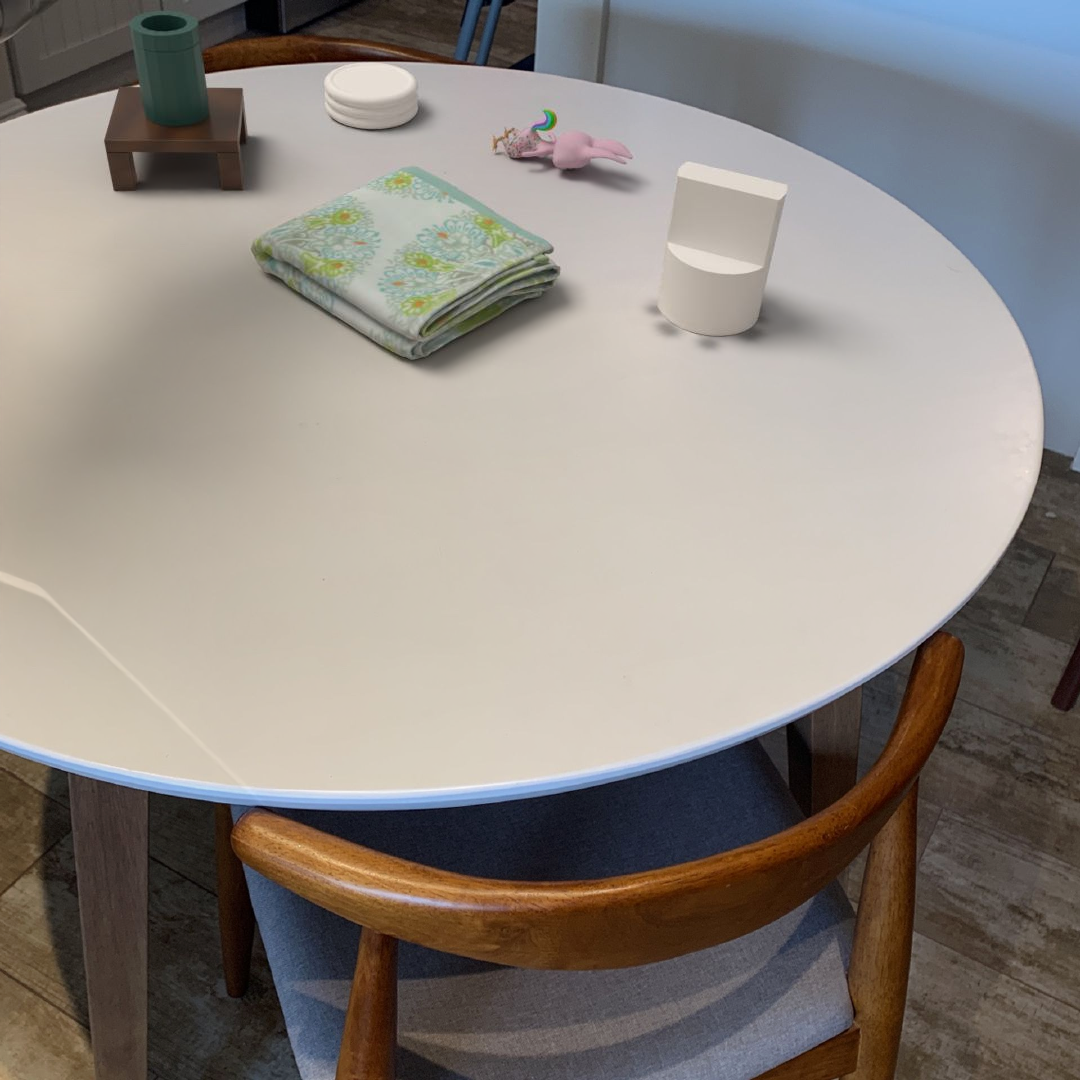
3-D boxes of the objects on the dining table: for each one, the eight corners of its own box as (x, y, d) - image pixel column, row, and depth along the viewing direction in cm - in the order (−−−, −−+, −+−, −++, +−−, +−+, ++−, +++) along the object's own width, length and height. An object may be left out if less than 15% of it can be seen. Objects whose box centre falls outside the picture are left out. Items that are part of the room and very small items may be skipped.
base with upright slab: (644, 319, 102) (663, 190, 94) (674, 271, 108) (694, 146, 100) (744, 346, 100) (773, 217, 92) (769, 295, 106) (798, 170, 98)
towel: (416, 374, 94) (415, 319, 90) (250, 269, 104) (243, 215, 100) (567, 293, 104) (572, 241, 101) (403, 204, 114) (402, 154, 110)
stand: (113, 190, 112) (103, 140, 109) (127, 134, 121) (118, 86, 117) (242, 190, 114) (237, 140, 110) (247, 135, 122) (242, 87, 119)
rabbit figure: (486, 171, 123) (616, 188, 117) (480, 114, 119) (614, 129, 113) (515, 149, 127) (642, 165, 121) (509, 93, 123) (641, 106, 117)
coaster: (379, 139, 124) (378, 107, 121) (306, 112, 127) (304, 80, 125) (436, 109, 130) (436, 77, 127) (365, 84, 133) (364, 53, 131)
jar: (141, 126, 111) (126, 34, 105) (148, 99, 115) (133, 10, 110) (207, 126, 112) (195, 35, 106) (211, 100, 116) (200, 11, 110)
